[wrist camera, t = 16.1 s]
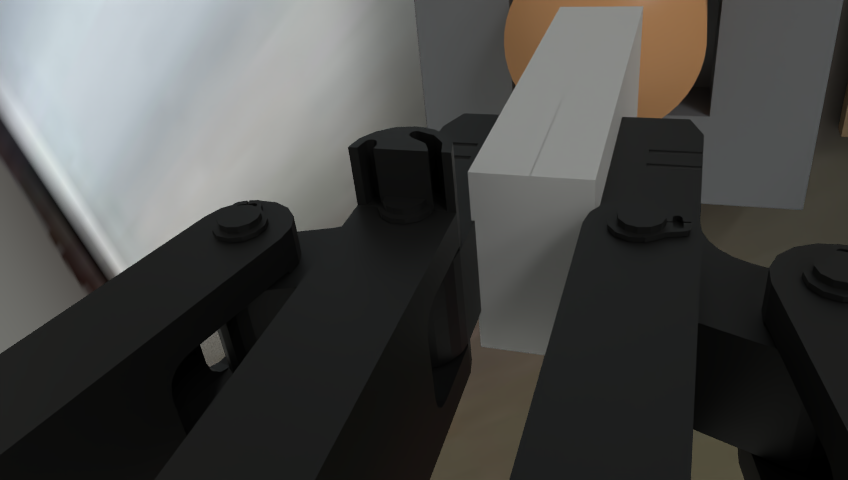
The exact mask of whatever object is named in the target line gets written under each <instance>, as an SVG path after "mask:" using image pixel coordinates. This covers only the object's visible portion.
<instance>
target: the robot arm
mask: <svg viewBox="0 0 848 480" xmlns="http://www.w3.org/2000/svg"><path fill="white" fill-rule="evenodd" d="M642 20H643V6H614V7H560V8H559V10H558V12H557V13H556V15H555V17H554V19H553V21H552V22H551V24H550V26H549V28H548V29H547V31H546V33H545V35H544V37H543V38H542V40H541V42H540V44H539V46H538V47H537V49H536V51H535V53H534V54H533V56H532V58H531V60H530V62H529V63H528V65H527V67H526V69H525V71H524V72H523V74H522V76H521V78H520V79H519V81H518V83H517V85H516V87H515V88H514V90H513V92H512V94H511V96H510V97H509V99H508V101H507V103H506V104H505V106H504V108H503V110H502V112H501V113H500V115H495V114H469V113H464V114H462V115H461V116H459V117H457V118H456V119H454V120H452V121H451V122H449V123H447V124H446V125H444V126H443V127H442V128H441V130H440V131H437V130H435V129H430V128H423V127H395V128H390V129H386V130H381V131H376V132H374V133H371V134H369V135H366V136H364V137H362V138H359V139H358V140H357V141H355V142H354V143H353V144H351V145H350V146H349V147H348V149H349V155H350V161H351V167H352V173H353V179H354V185H355V191H356V197H357V203H358V206H357V207H356V208H355V210H354V211H353V212H352V214H351V215H350V216H349V218H348V219H347V220H346V222H345V223H344V224H343V226H342V227H336V228H329V229H319V230H309V231H300V232H297V230H296V225H295V221H294V216H293V215H292V213H291V212H290V210H289V209H288V208H287V207H285V206H283V205H280V204H278V203H276V202H267V201H259V200H250V201H249V202H247V201H242V202H237V203H235V204H233V205H231V206H227V207H224V208H221V209H219V210H217V211H215V212H213V213H211V214H209V215H207V216H205V217H204V218H202V219H201V220H199V221H198V222H196V223H195V224H193V225H192V226H190V227H189V228H187V229H186V230H184V231H183V232H181V233H180V234H178V235H177V236H175V237H174V238H172V239H171V240H169V241H168V242H166V243H165V244H163V245H162V246H160V247H159V248H157V249H156V250H154V251H153V252H151V253H150V254H148V255H147V256H145V257H144V258H143V259H141V260H140V261H138V262H137V263H135V264H134V265H132V266H131V267H129V268H128V269H126V270H125V271H123V272H122V273H120V274H119V275H117V276H116V277H114V278H113V279H111V280H110V281H108V282H107V283H105V284H104V285H102V286H101V287H99V288H98V289H96V290H95V291H93V292H92V293H90V294H89V295H87V296H86V297H84V298H83V299H81V300H80V301H78V302H77V303H75V304H74V305H73V306H71V307H69V308H68V309H66V310H65V311H64V312H62V313H61V314H59V315H58V316H56V317H55V318H53V319H52V320H50V321H49V322H47V323H46V324H44V325H43V326H41V327H40V328H38V329H37V330H35V331H34V332H32V333H31V334H29V335H28V336H26V337H25V338H23V339H22V340H20V341H19V342H17V343H16V344H14V345H13V346H11V347H10V348H8V349H7V350H5V351H4V352H2V353H1V354H0V480H430V478H431V475H432V472H433V470H434V467H435V465H436V462H437V459H438V457H439V454H440V451H441V449H442V446H443V443H444V441H445V438H446V436H447V433H448V430H449V428H450V425H451V422H452V420H453V417H454V415H455V412H456V409H457V407H458V404H459V401H460V399H461V396H462V394H463V391H464V388H465V386H466V383H467V380H468V378H469V375H470V373H471V362H472V357H471V346H470V338H471V335H472V333H473V330H474V328H475V325H476V323H477V320H478V318H479V327H480V340H481V347H488V348H495V349H502V350H510V351H517V352H525V353H532V354H539V355H545V356H544V360H543V364H542V367H541V371H540V374H539V378H538V381H537V385H536V388H535V392H534V395H533V399H532V402H531V406H530V409H529V413H528V416H527V420H526V423H525V427H524V431H523V434H522V438H521V441H520V445H519V448H518V452H517V455H516V459H515V462H514V466H513V469H512V473H511V476H510V480H691V462H692V441H693V429H694V430H696V431H699V432H701V433H704V434H706V435H708V436H711V437H713V438H716V439H718V440H720V441H723V442H725V443H728V444H730V445H733V446H735V447H737V448H738V458H739V465H740V468H741V471H742V474H743V476H744V479H745V480H848V246H847V245H841V244H837V245H834V244H811V245H805V246H798V247H794V248H791V249H789V250H787V251H785V252H783V253H781V254H779V255H777V257H776V258H775V260H774V261H773V263H772V264H771V266H770V267H769V268H766V267H762V266H759V265H755V264H751V263H749V262H746V261H743V260H740V259H737V258H734V257H732V256H730V255H729V254H727V253H725V252H723V251H721V250H719V249H718V248H717V247H715V246H714V245H713V244H712V243H711V242H709V241H708V239H707V238H706V237H705V235H704V234H703V232H702V229H701V224H700V212H701V190H702V167H703V147H704V134H703V133H702V132H701V131H700V130H699V129H698V128H697V126H696V125H695V124H694V123H693V122H692V121H691V120H690V119H667V118H640V117H637V109H638V91H639V73H640V55H641V37H642ZM217 330H218V333H219V336H220V340H221V343H222V346H223V349H224V352H225V356H226V357H224V358H223V359H222V360H221V361H220V362H218V363H216V364H215V365H213V366H211V367H209V366H208V365H207V364H206V361H205V358H204V355H203V352H202V349H201V347H200V344H201V343H202V342H204V341H205V340H206V339H207V338H208V337H210V336H211V335H212V334H213V333H215V332H216V331H217Z"/></svg>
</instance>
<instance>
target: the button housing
mask: <svg viewBox="0 0 848 480" xmlns="http://www.w3.org/2000/svg"><path fill="white" fill-rule="evenodd" d="M414 2H415V12H416V22H417V32H418V42H419V52H420V62H421V72H422V82H423V91H424V101H425V111H426V121H427V128H430V129H435V130H437V131H440V130H441V128H442V127H443V126H444V125H446V124H447V123H449V122H451V121H452V120H454V119H456V118H457V117H459V116H461V115H462V114H464V113H469V114H495V115H500V113H501V112H502V110H503V108H504V106H505V104H506V103H507V101H508V99H509V97H510V96H511V94H512V92H513V90H514V88H515V87H516V85H515V84H514V82H513V80H512V77H511V75H510V72H509V69H508V66H507V62H506V58H505V49H504V31H505V25H506V19H507V16H508V12H509V9H510V6H511V4H512V2H513V0H414ZM842 5H843V0H708V3H707V46H706V52H705V58H704V61H703V64H702V68H701V71H700V73H699V75H698V77H697V79H696V81H695V83H694V85H693V86H692V88H691V90H690V91H689V93H688V94H687V95H686V96H685V98H684V99H683V100H682V101H681V102H680V104H679V105H677V106H676V107H675V108H674V109H673V110H672V111H671V112H670V113H668V114H667V115H666V116H664V117H663V118H667V119H690V120H691V121H692V122H693V123H694V124H695V125H696V126H697V128H698V129H699V130H700V131H701V132H702V133H703V134H704V147H703V167H702V190H701V204H716V205H732V206H748V207H763V208H779V209H794V210H803V207H804V201H805V196H806V191H807V186H808V181H809V176H810V170H811V165H812V160H813V155H814V150H815V145H816V140H817V134H818V129H819V124H820V119H821V114H822V109H823V103H824V98H825V93H826V88H827V83H828V78H829V72H830V67H831V62H832V57H833V52H834V47H835V41H836V36H837V31H838V26H839V21H840V16H841V11H842Z"/></svg>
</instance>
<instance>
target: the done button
mask: <svg viewBox="0 0 848 480" xmlns="http://www.w3.org/2000/svg"><path fill="white" fill-rule="evenodd" d="M707 3H708V0H513V2H512V4H511V6H510V9H509V12H508V16H507V19H506V25H505V31H504V49H505V58H506V62H507V66H508V69H509V72H510V75H511V77H512V80H513V82H514V84H515V85H517V83H518V81H519V79H520V78H521V76H522V74H523V72H524V71H525V69H526V67H527V65H528V63H529V62H530V60H531V58H532V56H533V54H534V53H535V51H536V49H537V47H538V46H539V44H540V42H541V40H542V38H543V37H544V35H545V33H546V31H547V29H548V28H549V26H550V24H551V22H552V21H553V19H554V17H555V15H556V13H557V12H558V10H559V8H560V7H614V6H643V20H642V37H641V55H640V73H639V91H638V109H637V117H640V118H663V117H664V116H666V115H667V114H668V113H670V112H671V111H672V110H673V109H674V108H675V107H676V106H677V105H679V104H680V102H681V101H682V100H683V99H684V98H685V96H686V95H687V94H688V93H689V91H690V90H691V88H692V86H693V85H694V83H695V81H696V79H697V77H698V75H699V73H700V71H701V68H702V64H703V61H704V58H705V52H706V46H707Z"/></svg>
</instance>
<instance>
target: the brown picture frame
mask: <svg viewBox="0 0 848 480" xmlns="http://www.w3.org/2000/svg"><path fill="white" fill-rule="evenodd" d="M838 128H839V132H840V135H841V137H848V83H847V88H846V93H845V97H844V102H843V107H842V112H841V117H840V121H839V126H838Z"/></svg>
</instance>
